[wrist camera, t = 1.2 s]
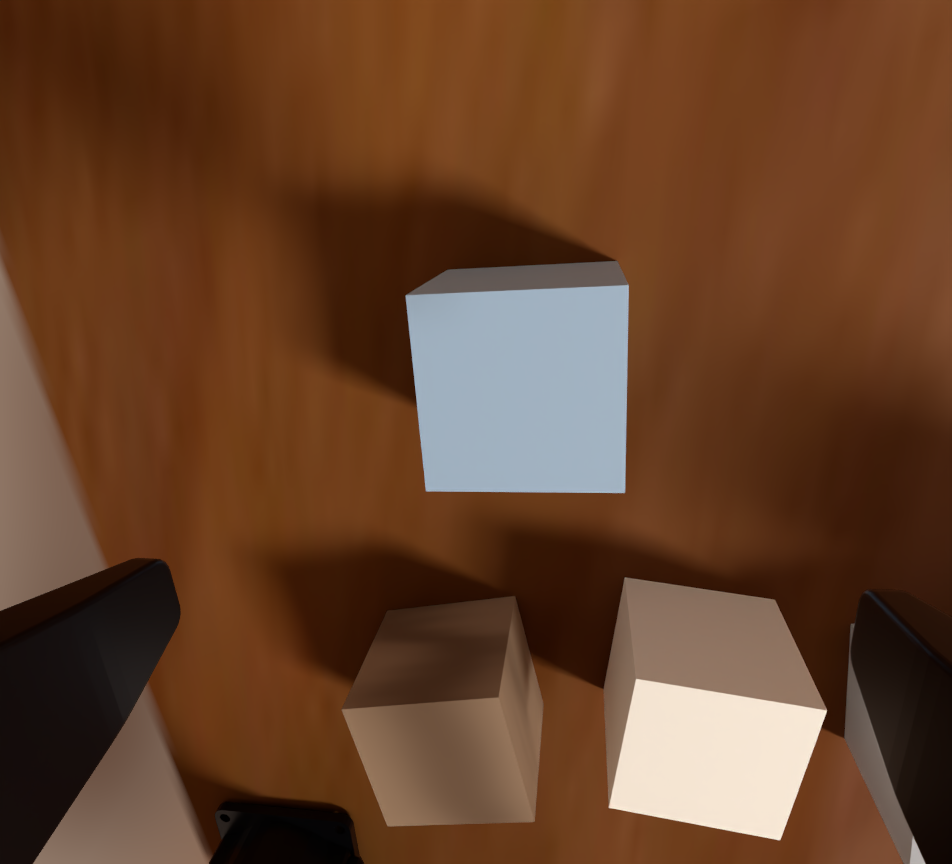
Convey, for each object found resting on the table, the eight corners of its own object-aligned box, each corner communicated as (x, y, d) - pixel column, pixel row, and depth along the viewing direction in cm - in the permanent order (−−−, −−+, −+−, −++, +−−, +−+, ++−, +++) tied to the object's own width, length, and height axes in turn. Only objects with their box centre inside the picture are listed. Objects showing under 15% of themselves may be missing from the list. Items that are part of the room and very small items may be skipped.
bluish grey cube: (460, 424, 21) (425, 490, 16) (448, 269, 19) (405, 295, 15) (615, 422, 20) (625, 492, 15) (616, 260, 18) (628, 285, 14)
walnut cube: (422, 711, 26) (387, 826, 21) (387, 609, 24) (341, 709, 19) (543, 702, 25) (534, 821, 20) (515, 594, 23) (498, 697, 18)
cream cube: (603, 687, 24) (608, 807, 19) (624, 576, 22) (636, 678, 17) (740, 711, 23) (780, 840, 19) (774, 598, 21) (827, 710, 17)
